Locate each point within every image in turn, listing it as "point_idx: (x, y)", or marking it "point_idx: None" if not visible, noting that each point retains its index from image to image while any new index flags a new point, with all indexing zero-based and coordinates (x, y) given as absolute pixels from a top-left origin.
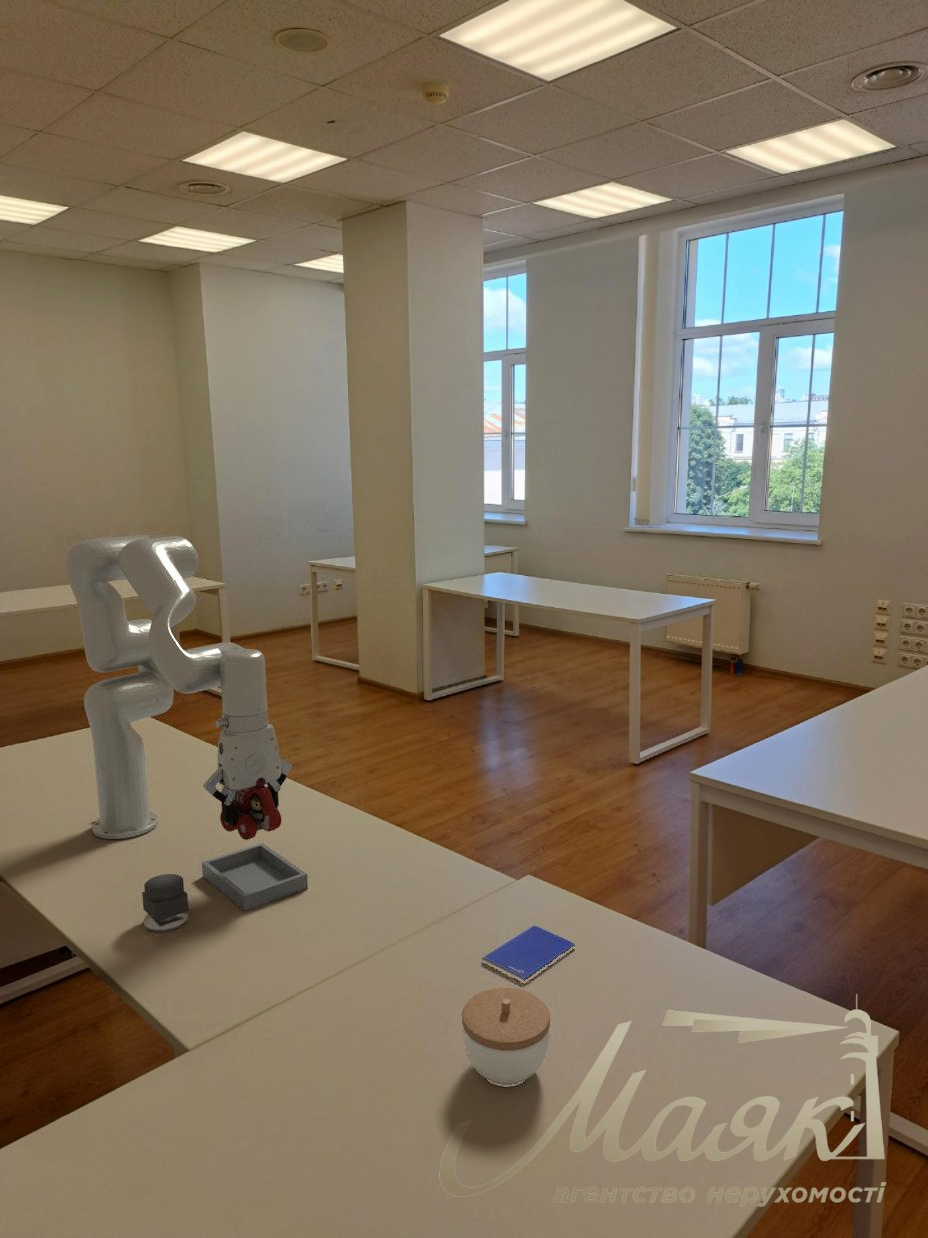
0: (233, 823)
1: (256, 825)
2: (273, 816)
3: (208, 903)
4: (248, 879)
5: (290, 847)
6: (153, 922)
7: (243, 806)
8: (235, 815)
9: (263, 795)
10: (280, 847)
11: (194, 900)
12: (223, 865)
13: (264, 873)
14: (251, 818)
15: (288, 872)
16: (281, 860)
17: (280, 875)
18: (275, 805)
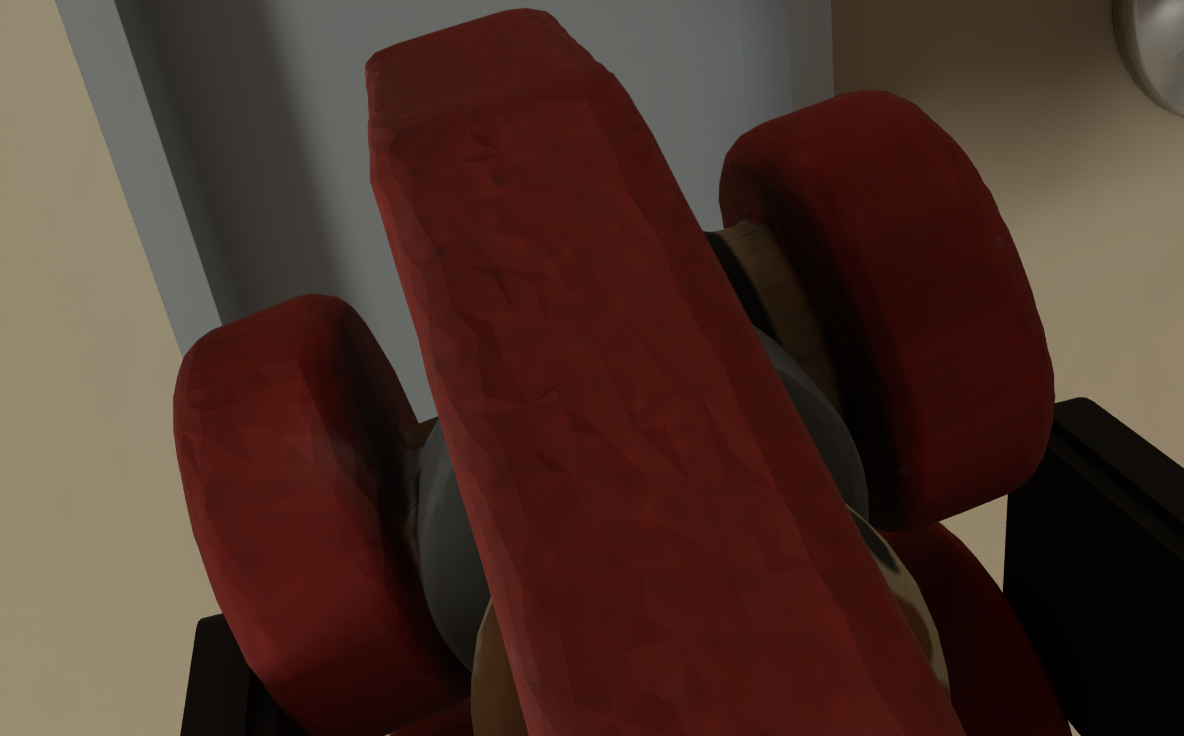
0: (1089, 418)
1: (736, 257)
2: (473, 79)
3: (926, 73)
4: None
5: (46, 699)
6: None
7: None
8: (1127, 516)
9: (896, 608)
10: (132, 723)
11: (984, 178)
12: None
13: (384, 333)
14: (902, 314)
15: (185, 162)
16: (221, 321)
17: (257, 231)
18: (226, 725)
